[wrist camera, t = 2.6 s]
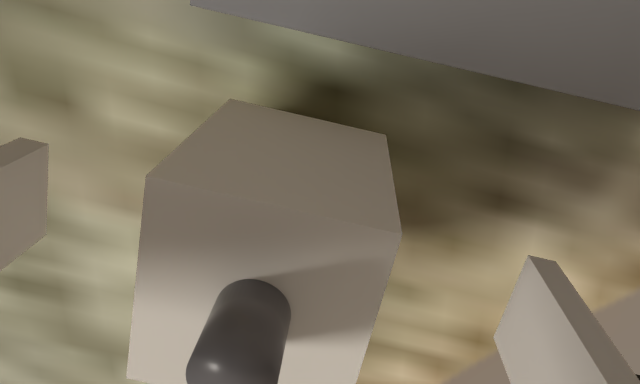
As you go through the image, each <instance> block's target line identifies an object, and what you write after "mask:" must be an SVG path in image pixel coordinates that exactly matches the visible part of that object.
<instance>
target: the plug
mask: <svg viewBox="0 0 640 384" xmlns="http://www.w3.org/2000/svg"><path fill="white" fill-rule="evenodd" d="M401 237H402V229H401V223H400V217H399V211H398V205H397V199H396V193H395V187H394V181H393V175H392V169H391V163H390V157H389V151H388V144H387V138H386V135H385V134H380V133H376V132H372V131H368V130H363V129H359V128H355V127H350V126H346V125H342V124H337V123H333V122H329V121H324V120H320V119H316V118H312V117H307V116H303V115H299V114H294V113H290V112H286V111H281V110H277V109H273V108H268V107H264V106H260V105H256V104H251V103H247V102H243V101H238V100H234V99H229V100H228V101H227V102H226V103H225V104H224V105H223V106H222V107H220V108H219V109H218V110H217V111H216V112H215V113H214V114H213V115H212V116H211V117H210V118H208V119H207V120H206V121H205V122H204V123H203V124H202V125H201V126H200V127H199V128H197V129H196V130H195V131H194V132H193V133H192V134H191V135H190V136H189V137H188V138H187V139H185V140H184V141H183V142H182V143H181V144H180V145H179V146H178V147H177V148H176V149H175V150H173V151H172V152H171V153H170V154H169V155H168V156H167V157H166V158H165V159H164V160H162V161H161V162H160V163H159V164H158V165H157V166H156V167H155V168H154V169H153V170H152V171H150V172H149V173H148V174H147V175H146V179H145V189H144V200H143V210H142V221H141V231H140V241H139V252H138V262H137V272H136V283H135V293H134V303H133V314H132V324H131V334H130V345H129V355H128V365H127V376H126V378H128V379H132V380H137V381H141V382H146V383H150V384H356V381H357V378H358V375H359V371H360V368H361V365H362V362H363V359H364V355H365V352H366V349H367V346H368V343H369V340H370V336H371V333H372V330H373V327H374V324H375V320H376V317H377V314H378V311H379V308H380V304H381V301H382V298H383V295H384V292H385V288H386V285H387V282H388V279H389V276H390V272H391V269H392V266H393V263H394V260H395V256H396V253H397V250H398V247H399V244H400V240H401Z"/></svg>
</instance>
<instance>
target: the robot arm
mask: <svg viewBox="0 0 640 384" xmlns="http://www.w3.org/2000/svg"><path fill="white" fill-rule="evenodd" d="M48 148H49V144H47V143H42V142H38V141H34V140H29V139H25V138H21V137H20V138H18V139H16V140H13V141H11V142H9V143H7V144H4V145H2V146H0V271H1V270H2V269H3V268H5V267H6V266H7V265H9V264H10V263H11V262H12V261H14V260H15V259H16V258H17V257H19V256H20V255H21V254H22V253H24V252H25V251H26V250H28V249H29V248H30V247H31V246H33V245H34V244H35V243H36V242H38V241H39V240H40V239H42V238H43V237H44V236H45V235H46V227H47V188H48ZM494 340H495V343H496V345H497V348H498V351H499V353H500V356H501V359H502V361H503V364H504V366H505V369H506V372H507V375H508V377H509V380H510V383H511V384H640V375H636V374H635V373H634V372H633V370H632V369H631V368H630V366H629V365H628V363H627V362H626V361H625V359H624V358H623V356H622V355H621V354H620V352H619V351H618V349H617V348H616V346H615V345H614V344H613V342H612V341H611V339H610V338H609V336H608V335H607V334H606V332H605V331H604V329H603V328H602V326H601V325H600V324H599V322H598V321H597V320H596V318H595V317H594V315H593V314H592V312H591V311H590V309H589V308H588V307H587V305H586V304H585V302H584V301H583V299H582V298H581V297H580V295H579V294H578V292H577V291H576V290H575V288H574V287H573V285H572V284H571V282H570V281H569V280H568V278H567V277H566V275H565V274H564V273H563V271H562V270H561V268H560V267H559V265H558V264H557V263H556V261H552V260H547V259H543V258H539V257H534V256H530V255H528V256H527V259H526V261H525V263H524V266H523V268H522V271H521V273H520V275H519V278H518V280H517V283H516V285H515V287H514V290H513V292H512V294H511V297H510V299H509V302H508V304H507V306H506V309H505V311H504V314H503V316H502V318H501V321H500V323H499V326H498V328H497V330H496V333H495V335H494Z"/></svg>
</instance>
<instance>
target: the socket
mask: <svg viewBox="0 0 640 384" xmlns="http://www.w3.org/2000/svg"><path fill="white" fill-rule="evenodd" d="M190 5H191V6H196V7H200V8H204V9H208V10H213V11H217V12H221V13H225V14H230V15H234V16H238V17H242V18H247V19H251V20H255V21H259V22H264V23H268V24H272V25H276V26H281V27H285V28H289V29H294V30H298V31H302V32H306V33H311V34H315V35H319V36H323V37H328V38H332V39H336V40H340V41H345V42H349V43H353V44H357V45H362V46H366V47H370V48H374V49H379V50H383V51H387V52H392V53H396V54H400V55H404V56H409V57H413V58H417V59H421V60H426V61H430V62H434V63H438V64H443V65H447V66H451V67H455V68H460V69H464V70H468V71H472V72H477V73H481V74H485V75H490V76H494V77H498V78H502V79H507V80H511V81H515V82H519V83H524V84H528V85H532V86H536V87H541V88H545V89H549V90H553V91H558V92H562V93H566V94H570V95H575V96H579V97H583V98H588V99H592V100H596V101H600V102H605V103H609V104H613V105H617V106H622V107H626V108H630V109H634V110H639V111H640V0H190Z"/></svg>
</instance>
